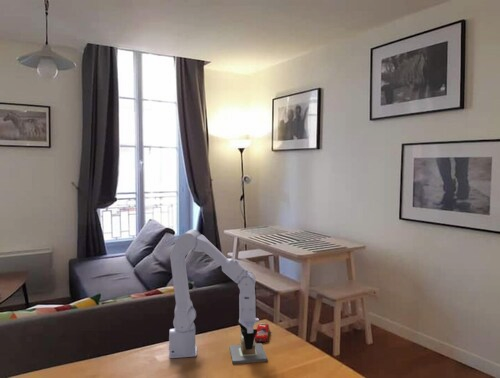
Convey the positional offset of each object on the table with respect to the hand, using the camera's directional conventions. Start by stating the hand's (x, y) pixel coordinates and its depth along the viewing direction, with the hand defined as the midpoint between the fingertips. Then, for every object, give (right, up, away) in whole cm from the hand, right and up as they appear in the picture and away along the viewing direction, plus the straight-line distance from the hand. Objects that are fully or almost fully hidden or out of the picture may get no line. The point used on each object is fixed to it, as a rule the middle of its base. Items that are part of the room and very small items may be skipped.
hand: (247, 345), depth 138 cm
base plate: (0, -3, 0) cm, 3 cm away
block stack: (0, -2, 0) cm, 2 cm away
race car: (+6, -3, +16) cm, 17 cm away
